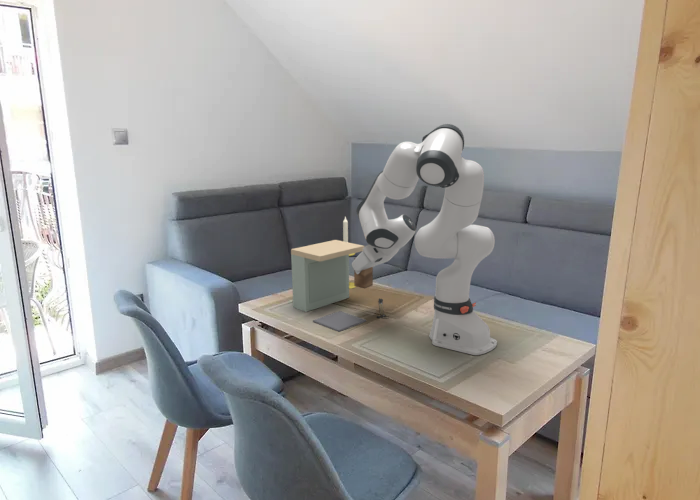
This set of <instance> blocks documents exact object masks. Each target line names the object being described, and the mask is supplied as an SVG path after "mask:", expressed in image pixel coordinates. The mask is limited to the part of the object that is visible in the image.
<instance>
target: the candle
mask: <svg viewBox="0 0 700 500" xmlns="http://www.w3.org/2000/svg"><path fill="white" fill-rule="evenodd" d="M348 221H349V220H348V219H347V217H346V215H345V216H344V219H343V221H342V228H343V229H342V231H343V232H342V235H343V236H342V237H343V238H342V239H343V240H342V241H344V242H348V243H349V229H348V228H349V222H348ZM354 255H356V253H353V254H349V257H352V256H354ZM355 288H357V287H356V286H354V282H353V281H352V282H351V281H349V290H350V289H355Z"/></svg>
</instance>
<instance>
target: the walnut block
mask: <svg viewBox="0 0 700 500" xmlns="http://www.w3.org/2000/svg"><path fill="white" fill-rule="evenodd" d="M355 259H356V257H354V258H353V261H354V260H355ZM353 270H354V269H353ZM373 270H374V267H371V268H368V269H365V270H362V272H361V273H360V274H356V272H355V270H354V271H353V275H354V277H353V279H354V280H353V281H354V282H353V283H354V286H356V287H355V288H361V289H367V288H369V287H372V286H373V283H374V282H373V281H374V280H373V278H374V274H373V273H374V271H373Z"/></svg>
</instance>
